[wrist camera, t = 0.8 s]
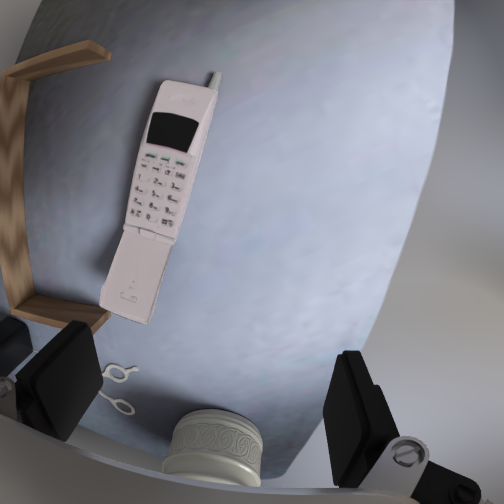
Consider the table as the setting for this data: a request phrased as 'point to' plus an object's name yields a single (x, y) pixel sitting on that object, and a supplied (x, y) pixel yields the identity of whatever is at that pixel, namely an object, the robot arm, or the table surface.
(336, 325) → the table surface
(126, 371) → the scissors
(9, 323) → the wine bottle
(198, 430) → the jar
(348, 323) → the table surface
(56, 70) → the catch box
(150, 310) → the mobile phone
